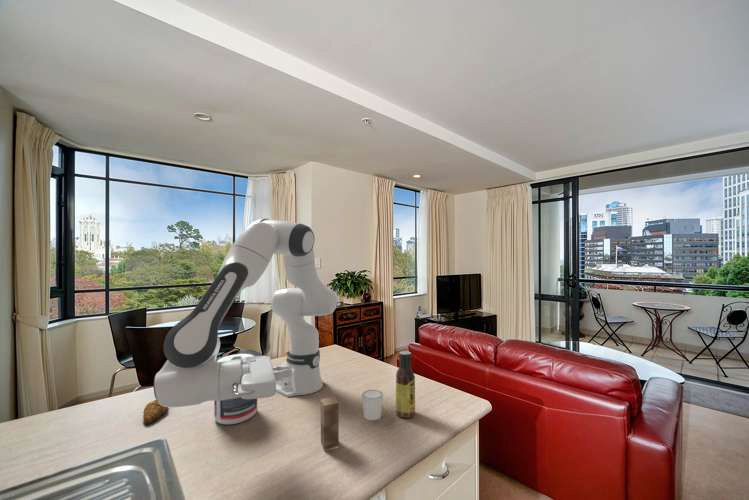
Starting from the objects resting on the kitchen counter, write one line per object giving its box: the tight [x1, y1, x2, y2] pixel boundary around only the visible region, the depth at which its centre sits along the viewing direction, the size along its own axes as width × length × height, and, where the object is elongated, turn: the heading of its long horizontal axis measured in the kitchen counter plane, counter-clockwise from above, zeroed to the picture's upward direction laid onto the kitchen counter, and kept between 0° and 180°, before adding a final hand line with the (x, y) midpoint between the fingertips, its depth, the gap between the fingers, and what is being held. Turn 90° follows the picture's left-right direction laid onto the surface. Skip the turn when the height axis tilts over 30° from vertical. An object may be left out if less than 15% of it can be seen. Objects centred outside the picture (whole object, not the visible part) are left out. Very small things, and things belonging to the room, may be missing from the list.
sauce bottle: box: [395, 350, 416, 419], centre depth 101 cm, size 6×6×20 cm
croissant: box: [142, 399, 169, 425], centre depth 101 cm, size 14×7×5 cm, turn 16°
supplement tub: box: [213, 353, 258, 425], centre depth 100 cm, size 13×13×18 cm
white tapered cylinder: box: [361, 389, 384, 421], centre depth 100 cm, size 7×7×7 cm
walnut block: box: [320, 396, 340, 452], centre depth 85 cm, size 4×4×12 cm
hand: (291, 370), depth 81 cm, fingers closed
